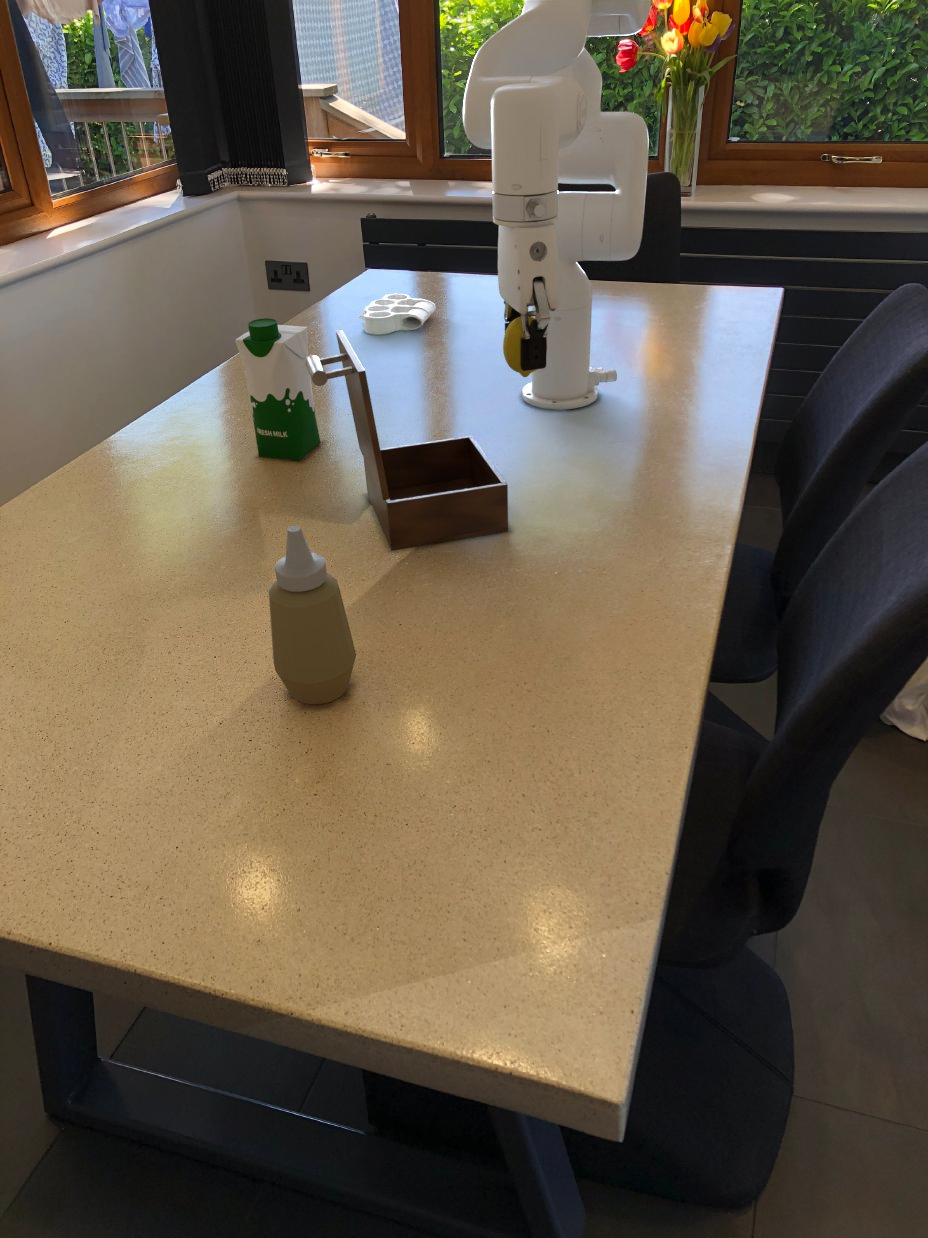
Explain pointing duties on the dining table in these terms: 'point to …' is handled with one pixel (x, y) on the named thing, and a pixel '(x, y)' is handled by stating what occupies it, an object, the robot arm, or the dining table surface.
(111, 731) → the dining table surface
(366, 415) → the lid
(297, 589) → the squeeze bottle
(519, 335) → the lemon
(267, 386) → the milk carton
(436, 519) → the box
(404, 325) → the white multi-hole holder
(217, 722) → the dining table surface
